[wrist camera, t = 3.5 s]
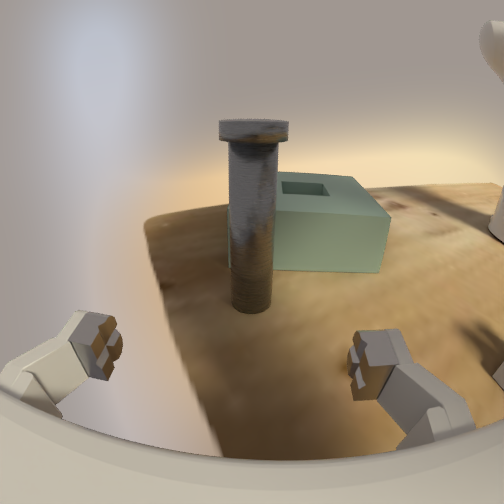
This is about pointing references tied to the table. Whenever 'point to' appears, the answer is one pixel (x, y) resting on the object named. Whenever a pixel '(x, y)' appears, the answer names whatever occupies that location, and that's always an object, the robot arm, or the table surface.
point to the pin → (252, 207)
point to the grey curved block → (500, 375)
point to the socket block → (326, 225)
